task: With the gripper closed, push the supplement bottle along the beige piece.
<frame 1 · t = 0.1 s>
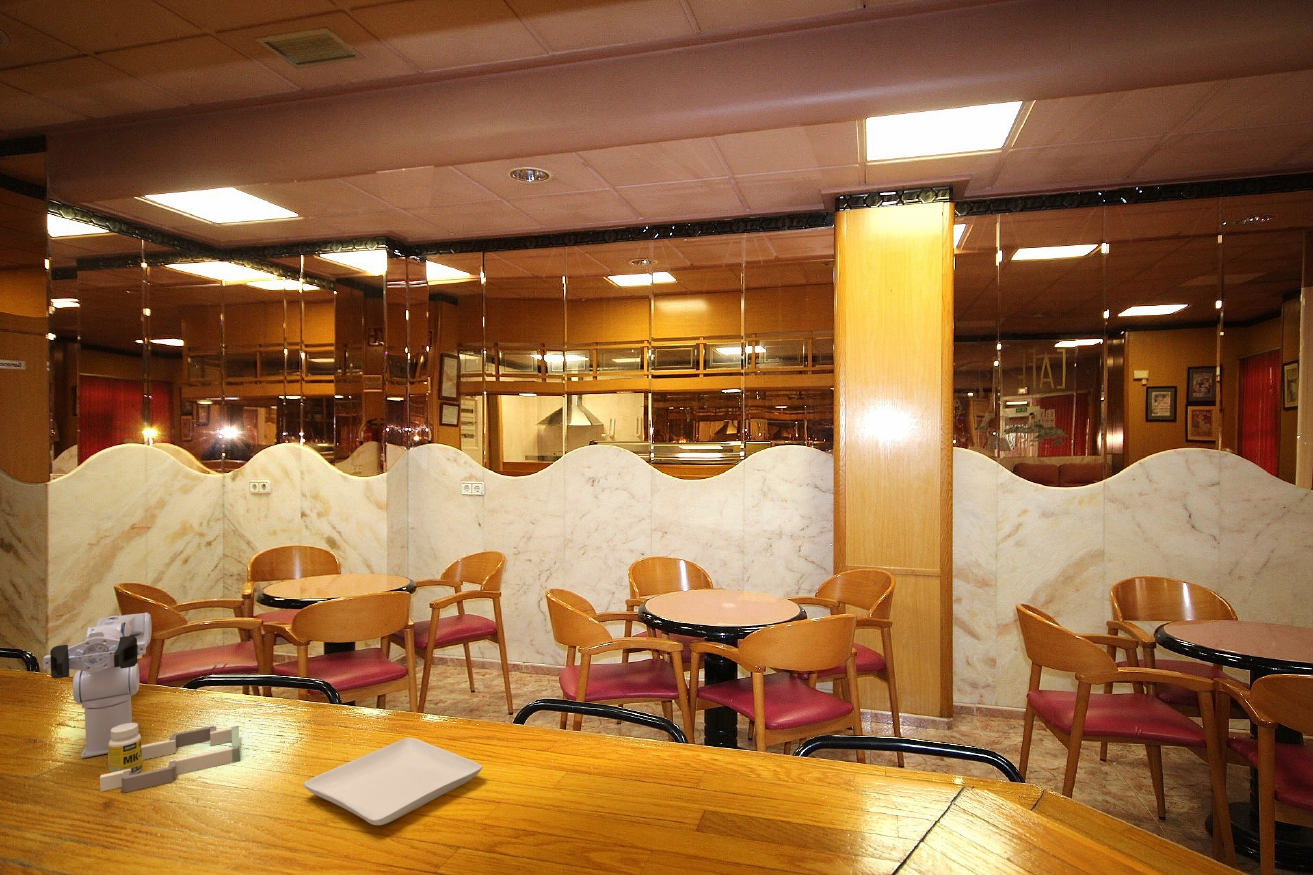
hand: (88, 664, 124), 22 cm above the table, tool horizontal, fingers open, 7 cm apart
salad plate: (395, 793, 123), on the table
supplement bottle: (126, 774, 131), on the table
beige piece: (173, 762, 134), on the table
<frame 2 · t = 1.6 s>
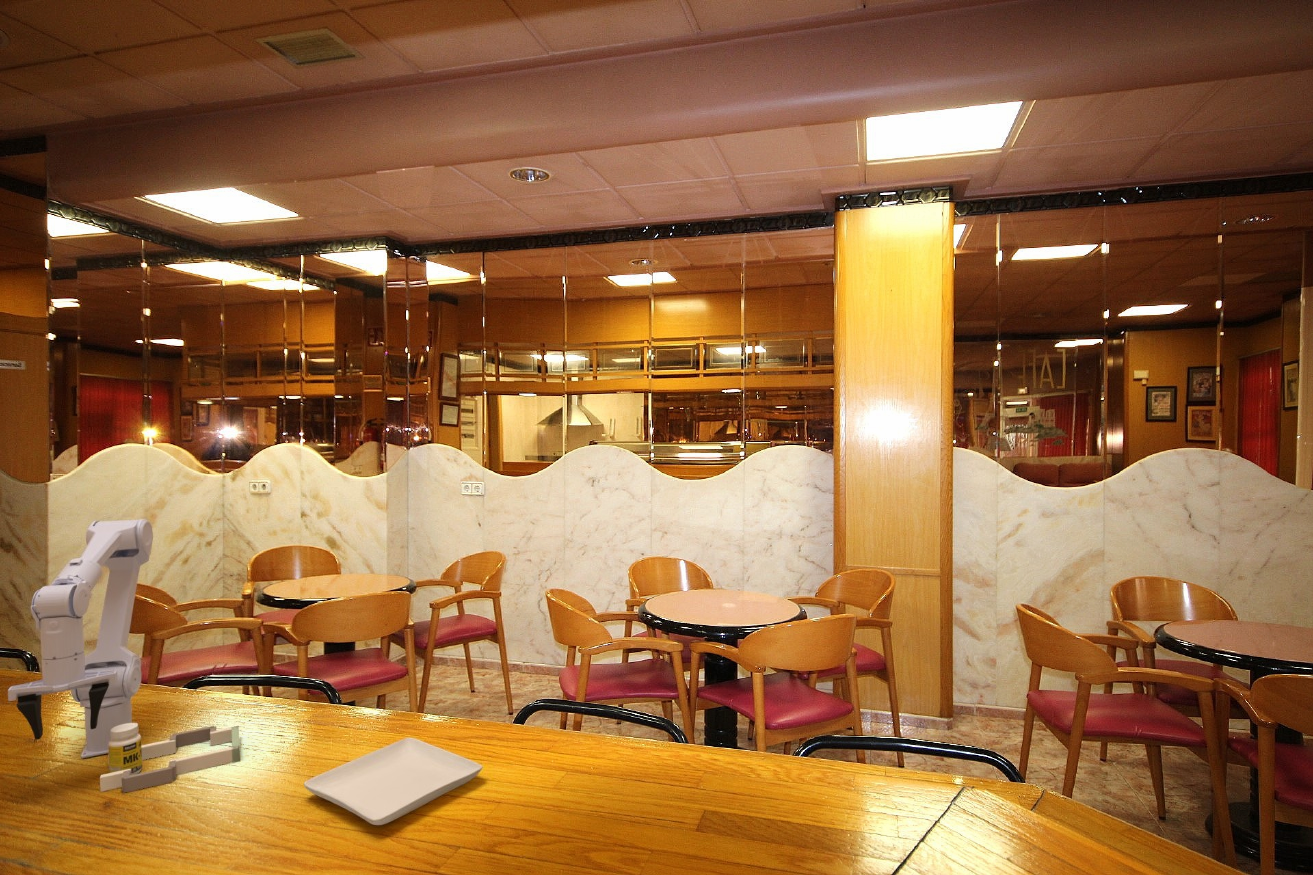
hand: (66, 731, 126), 9 cm above the table, tool pointing down, fingers open, 7 cm apart
nothing on the table moved.
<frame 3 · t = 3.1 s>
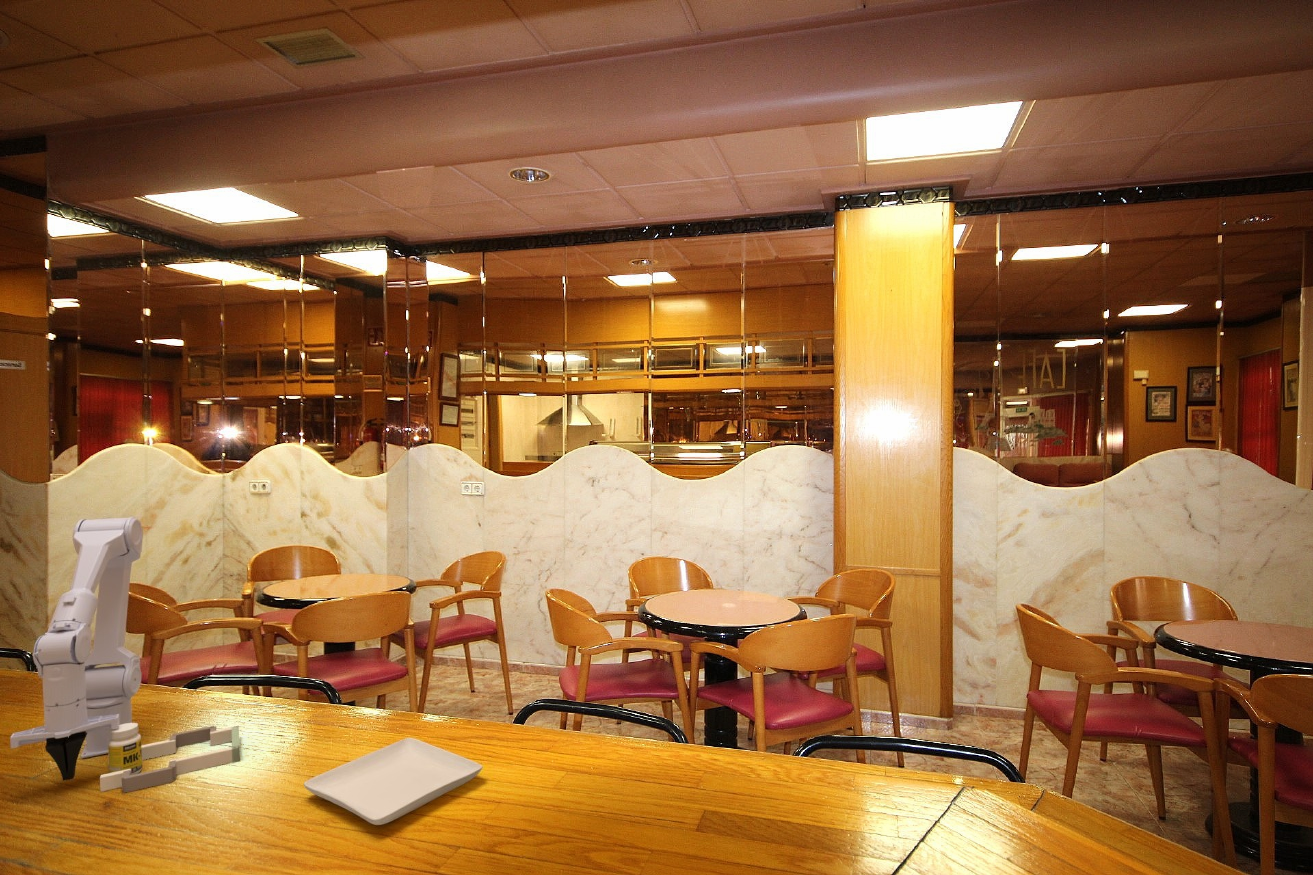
hand: (68, 777, 126), 1 cm above the table, tool pointing down, fingers closed
nothing on the table moved.
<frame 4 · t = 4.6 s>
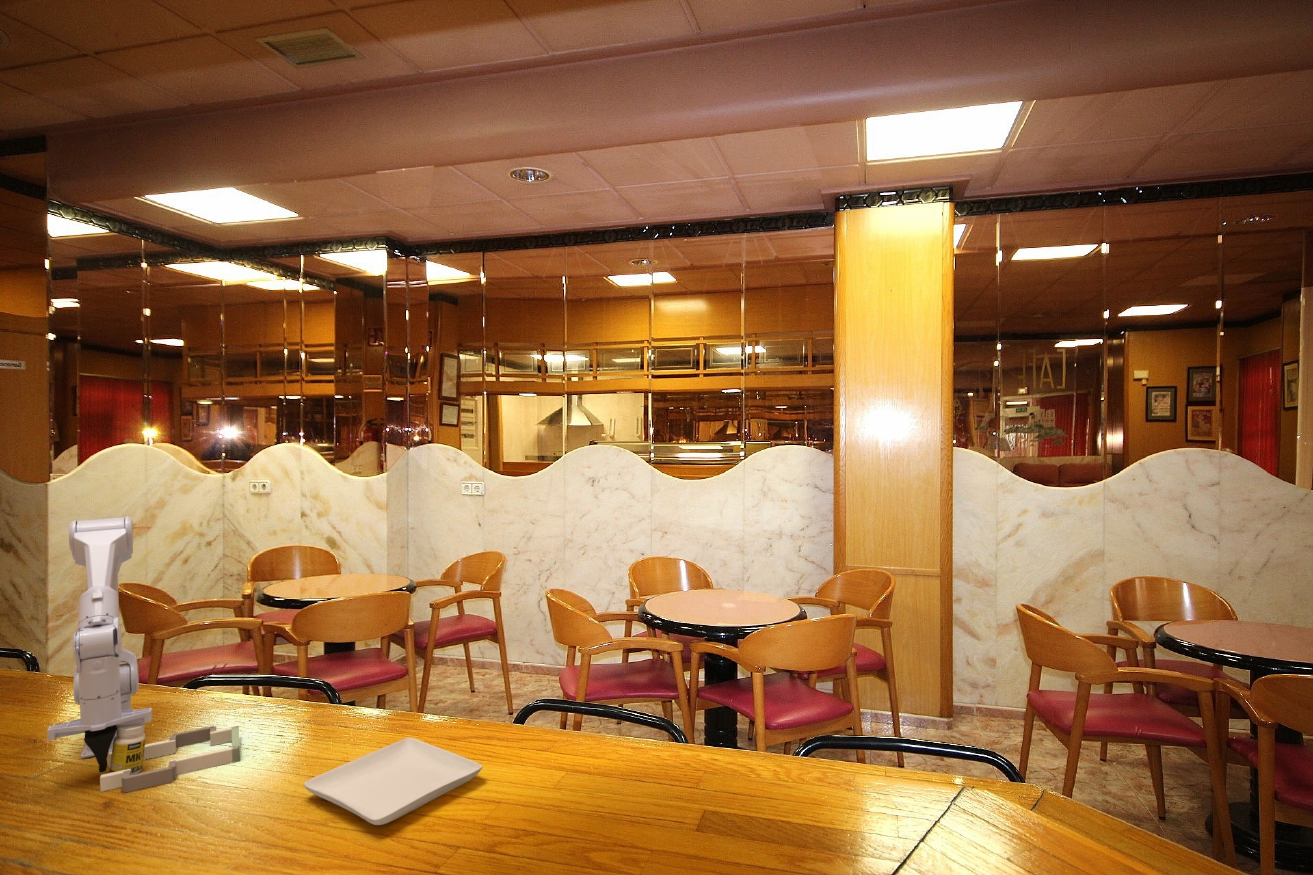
hand: (103, 769, 129), 2 cm above the table, tool pointing down, fingers closed, pressing on supplement bottle
supplement bottle: (126, 773, 131), on the table, touching gripper
everything else where it was.
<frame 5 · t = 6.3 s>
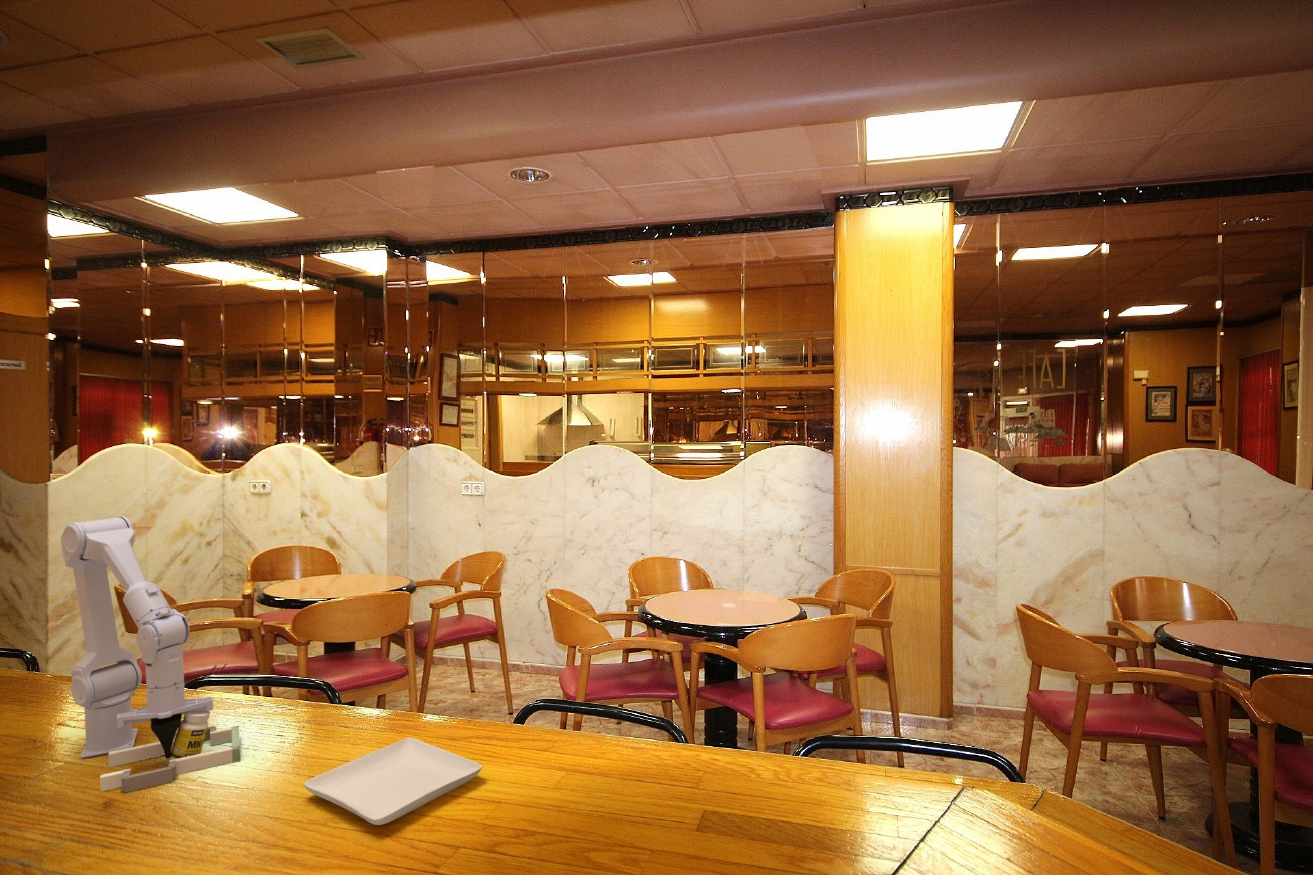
hand: (168, 756, 134), 1 cm above the table, tool pointing down, fingers closed, pressing on supplement bottle
supplement bottle: (184, 758, 135), on the table, touching gripper
everything else where it was.
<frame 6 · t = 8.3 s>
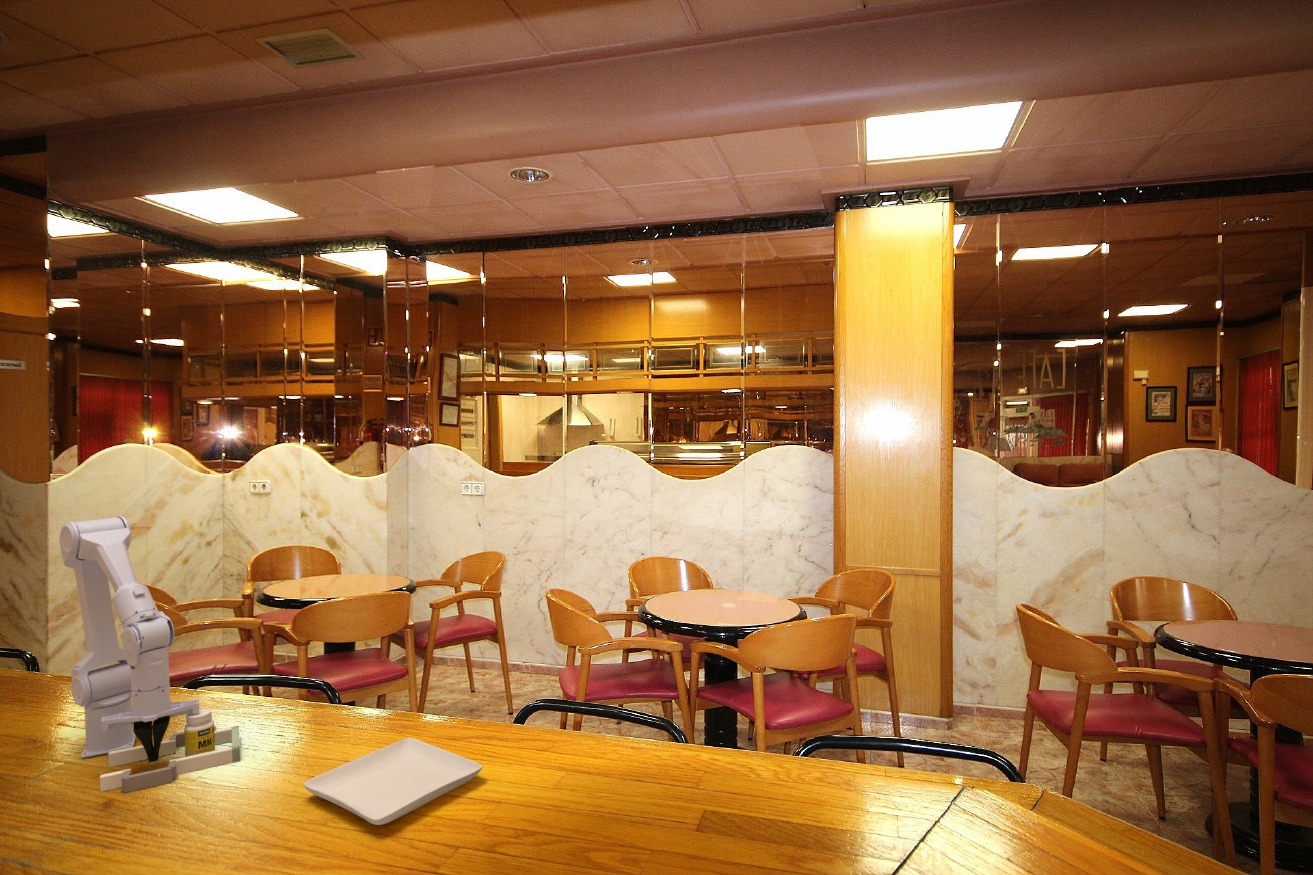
hand: (153, 759, 133), 1 cm above the table, tool pointing down, fingers closed
supplement bottle: (200, 758, 136), on the table
everything else where it was.
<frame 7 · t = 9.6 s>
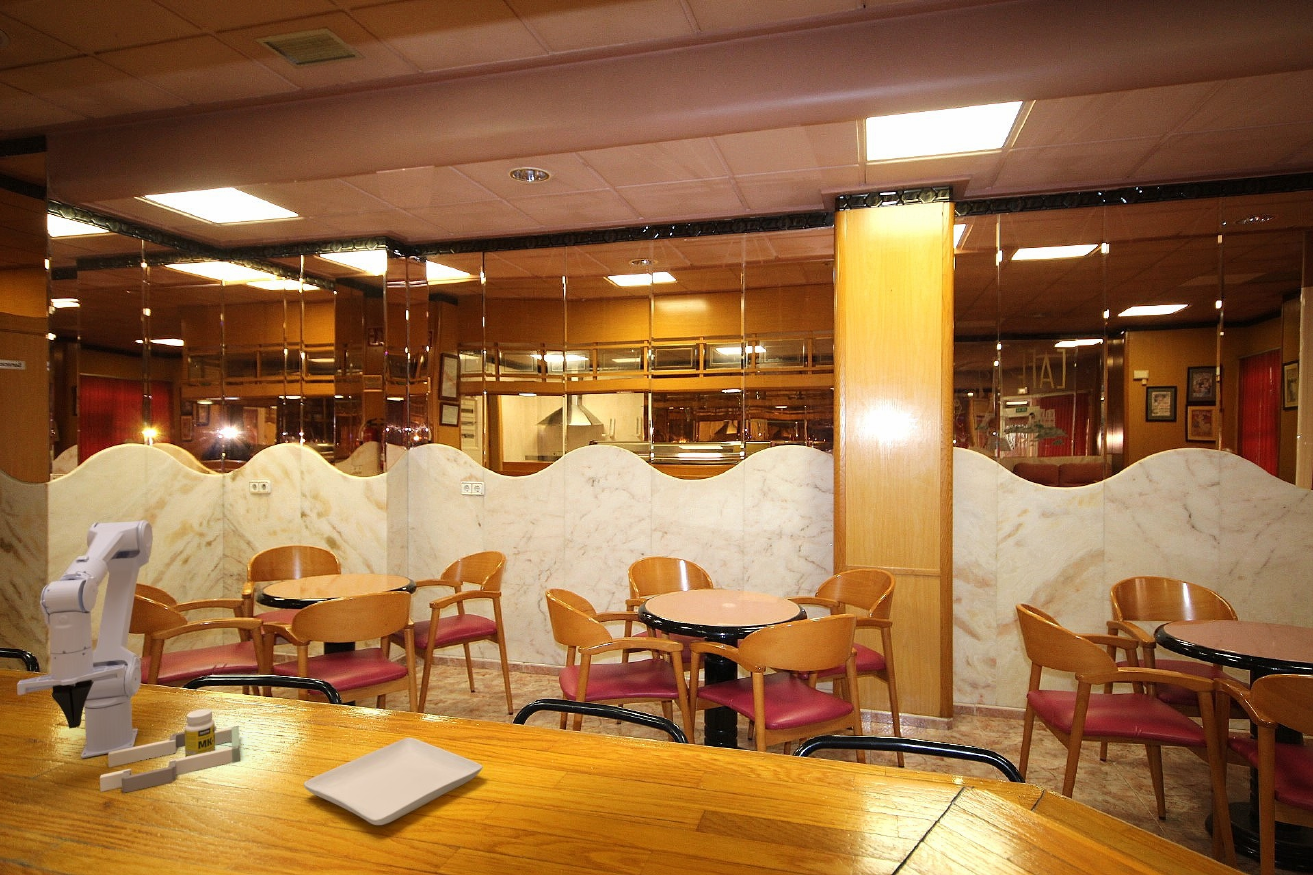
hand: (75, 725, 128), 10 cm above the table, tool pointing down, fingers closed
nothing on the table moved.
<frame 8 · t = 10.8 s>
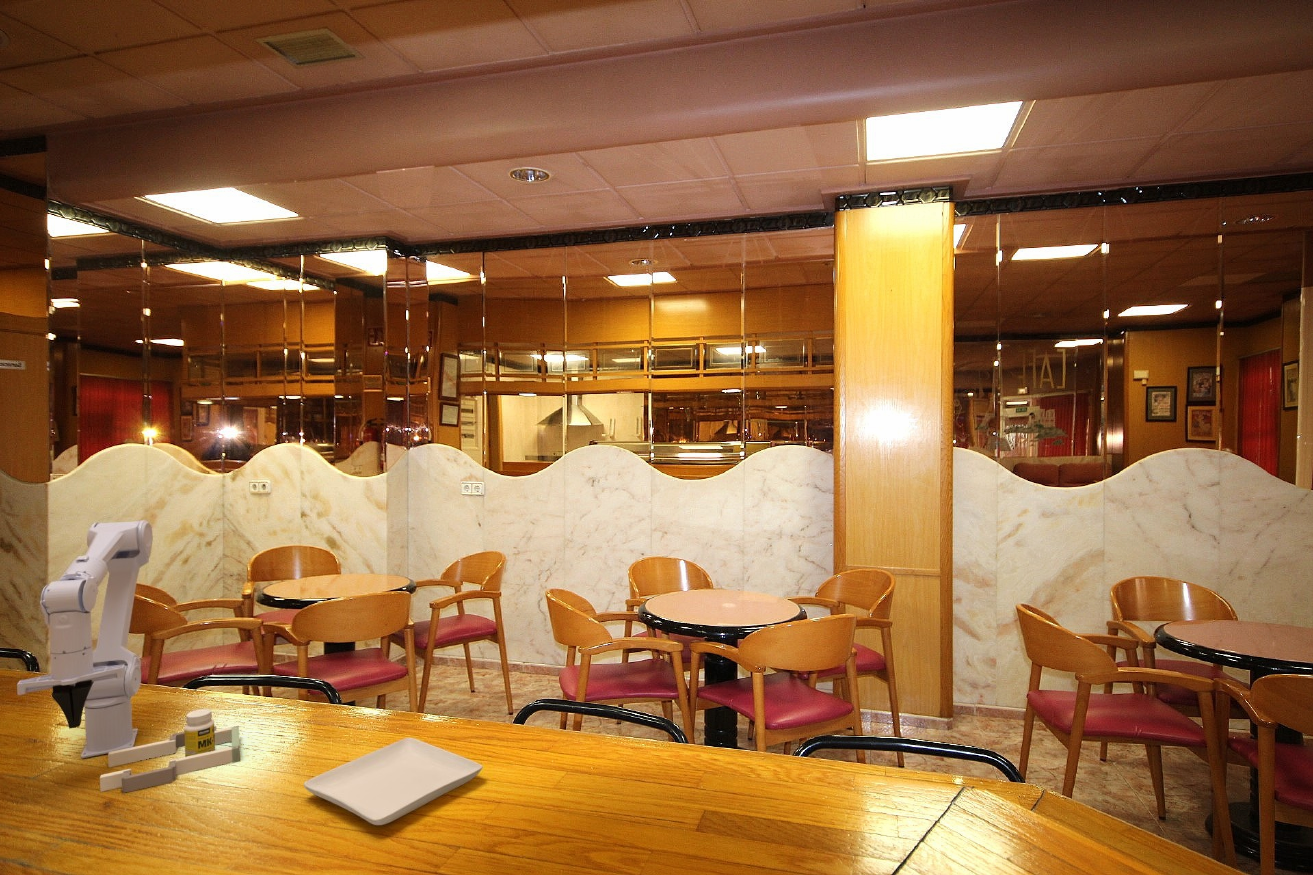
hand: (75, 725, 128), 10 cm above the table, tool pointing down, fingers closed
nothing on the table moved.
at the end: supplement bottle inside the target area on the beige piece (2.0 cm from its centre), point 0.0 cm above the beige piece's base; supplement bottle tilted 0° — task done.
